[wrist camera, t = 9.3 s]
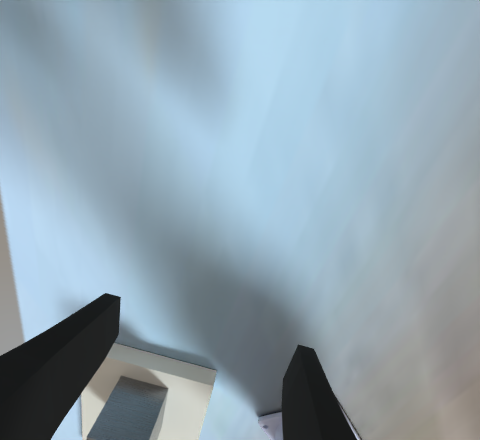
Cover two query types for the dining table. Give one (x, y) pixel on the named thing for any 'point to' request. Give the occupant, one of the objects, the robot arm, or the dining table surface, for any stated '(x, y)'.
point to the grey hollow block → (131, 412)
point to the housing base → (158, 373)
